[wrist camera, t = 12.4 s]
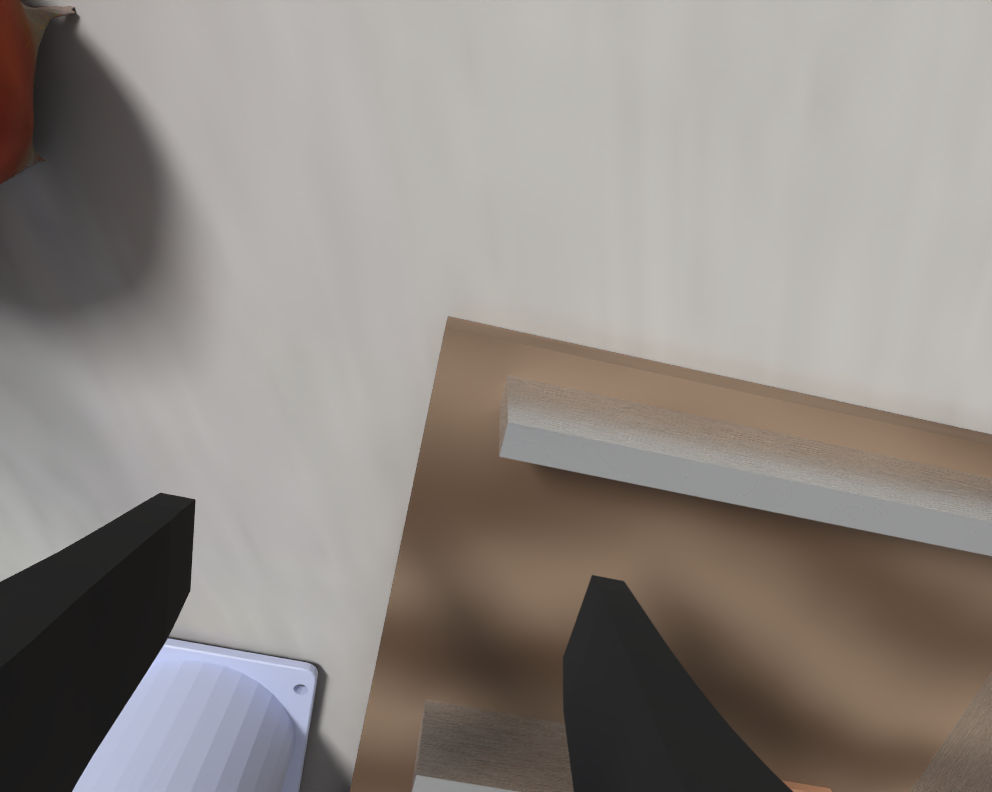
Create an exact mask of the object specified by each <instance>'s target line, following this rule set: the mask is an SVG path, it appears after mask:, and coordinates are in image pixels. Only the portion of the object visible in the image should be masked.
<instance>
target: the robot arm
mask: <svg viewBox="0 0 992 792" xmlns="http://www.w3.org/2000/svg"><path fill="white" fill-rule="evenodd" d="M194 516H195V499H190V498H185V497H180V496H175V495H169V494H164V493H159V494H157V495H156V496H154V497H152V498H150V499H149V500H147V501H145V502H143V503H142V504H140V505H138V506H137V507H135V508H133V509H132V510H130V511H128V512H126V513H125V514H123V515H121V516H120V517H118V518H116V519H115V520H113V521H111V522H110V523H108V524H106V525H105V526H103V527H101V528H99V529H98V530H96V531H94V532H93V533H91V534H89V535H87V536H86V537H84V538H82V539H80V540H79V541H77V542H75V543H73V544H72V545H70V546H68V547H66V548H65V549H63V550H61V551H59V552H58V553H56V554H54V555H52V556H50V557H48V558H46V559H44V560H42V561H40V562H38V563H36V564H34V565H32V566H30V567H28V568H27V569H25V570H23V571H21V572H19V573H17V574H15V575H13V576H11V577H9V578H7V579H5V580H3V581H1V582H0V792H299V790H300V784H301V778H302V772H303V766H304V759H305V753H306V747H307V741H308V735H309V729H310V722H311V716H312V710H313V704H314V698H315V692H316V685H317V679H318V670H317V669H316V667H315V666H313V665H312V664H310V663H307V662H302V661H296V660H290V659H284V658H279V657H273V656H267V655H261V654H255V653H250V652H244V651H238V650H232V649H227V648H221V647H215V646H209V645H204V644H198V643H192V642H186V641H181V640H175V639H169V638H168V636H169V634H170V632H171V630H172V628H173V626H174V624H175V622H176V620H177V618H178V616H179V614H180V612H181V609H182V607H183V605H184V603H185V601H186V599H187V597H188V594H189V592H190V586H191V569H192V551H193V534H194ZM299 684H302V685H305V686H300V685H299ZM563 712H564V720H565V729H566V736H567V744H568V752H569V760H570V767H571V774H572V782H573V789H574V792H793V791H792V790H791V789H790V788H789V787H788V786H787V785H786V784H785V783H784V782H782V781H781V780H780V779H779V778H778V777H777V776H776V775H775V774H774V773H773V772H772V771H771V770H770V769H769V768H768V767H767V765H766V764H765V763H764V762H763V761H762V760H761V759H760V758H759V757H758V756H757V755H756V754H755V753H754V752H753V751H752V749H751V748H750V747H749V746H748V745H747V744H746V743H745V742H744V741H743V740H742V739H741V738H740V737H739V735H738V734H737V733H736V732H735V731H734V730H733V729H732V728H731V726H730V725H729V724H728V723H727V722H726V721H725V719H724V718H723V717H722V716H721V715H720V714H719V712H718V711H717V710H716V709H715V707H714V706H713V705H712V704H711V702H710V701H709V700H708V699H707V697H706V696H705V695H704V694H703V692H702V691H701V690H700V689H699V687H698V686H697V685H696V683H695V682H694V681H693V680H692V678H691V677H690V676H689V674H688V673H687V672H686V670H685V669H684V668H683V666H682V665H681V663H680V662H679V661H678V659H677V658H676V656H675V655H674V654H673V652H672V651H671V649H670V648H669V647H668V645H667V644H666V642H665V641H664V639H663V638H662V637H661V635H660V634H659V632H658V631H657V629H656V628H655V626H654V625H653V623H652V622H651V620H650V619H649V617H648V616H647V614H646V613H645V611H644V610H643V608H642V607H641V605H640V604H639V602H638V601H637V599H636V598H635V596H634V595H633V593H632V592H631V590H630V589H629V587H628V586H627V585H626V583H625V582H624V581H621V580H616V579H611V578H606V577H600V576H595V575H592V576H591V579H590V582H589V585H588V588H587V591H586V593H585V596H584V599H583V602H582V605H581V608H580V611H579V613H578V616H577V619H576V622H575V625H574V628H573V630H572V633H571V636H570V639H569V642H568V645H567V648H566V650H565V653H564V656H563Z"/></svg>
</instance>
